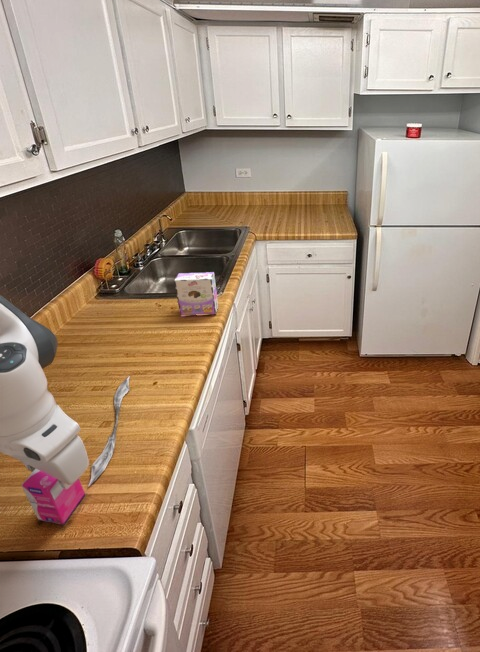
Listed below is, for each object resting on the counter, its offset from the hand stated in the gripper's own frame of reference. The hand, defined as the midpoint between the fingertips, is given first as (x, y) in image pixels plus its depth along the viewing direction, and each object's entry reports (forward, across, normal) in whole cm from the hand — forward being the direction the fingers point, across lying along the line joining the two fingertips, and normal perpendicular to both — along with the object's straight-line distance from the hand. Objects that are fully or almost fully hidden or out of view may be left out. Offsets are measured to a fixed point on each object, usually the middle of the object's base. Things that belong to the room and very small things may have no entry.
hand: (51, 475), depth 65 cm
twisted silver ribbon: (+10, -7, +18) cm, 22 cm away
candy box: (+10, -17, +66) cm, 69 cm away
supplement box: (+10, 0, 0) cm, 10 cm away
